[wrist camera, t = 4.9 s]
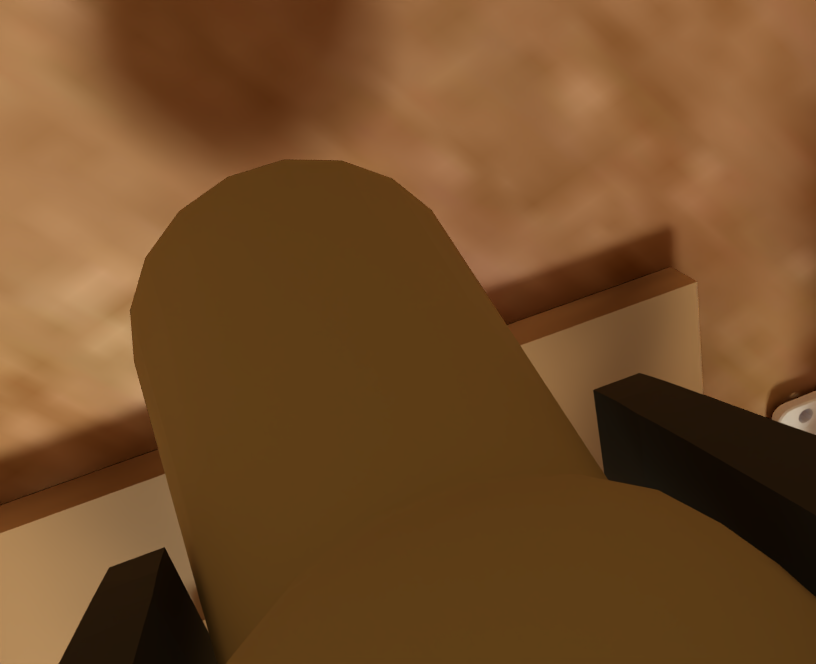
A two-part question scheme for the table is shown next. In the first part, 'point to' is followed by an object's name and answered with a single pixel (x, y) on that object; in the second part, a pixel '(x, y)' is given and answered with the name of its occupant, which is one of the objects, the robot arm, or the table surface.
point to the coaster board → (152, 503)
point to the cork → (406, 456)
